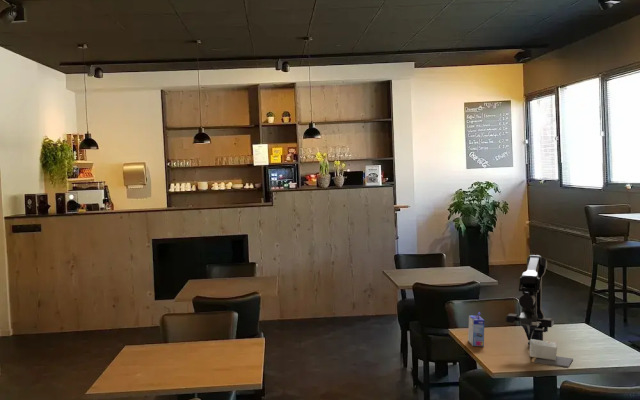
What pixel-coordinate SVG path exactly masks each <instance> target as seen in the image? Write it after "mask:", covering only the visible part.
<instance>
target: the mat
mask: <svg viewBox="0 0 640 400" xmlns="http://www.w3.org/2000/svg"><path fill="white" fill-rule="evenodd" d="M573 361H574V358H572V357H564V356H559V355H556V360H549V359H543V358H537V357H532V359H531V363H536V364H540V365H541V364H543V365H549V366H556V367H562V368H569V367H570V365H571V364H572V362H573Z"/></svg>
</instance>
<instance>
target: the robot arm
mask: <svg viewBox="0 0 640 400" xmlns="http://www.w3.org/2000/svg"><path fill="white" fill-rule="evenodd" d="M526 267H527V268H526V271H523V272H522V274H521V276H520V277H519V284H518V292H522V294H521V296H520V297H519V298H518V299H519V300H518V302H519V305H520V307H521V312H520V315H518V314H517V313H508V314H507V315H506V316H505V322H506V323H512V324H513V323H514V322H519V326H521V328H523V330H524V332H525V336H526V338H527V341H528V342H527V345H530V340H531V339H535V340H541V341H544V333H547V332H548V331H549V329H548V328H552V327H553V326H554V325H555V324H554V323H555V320H554V318H553V317H546V315H545V313H544V311H543V309H542V291H543V290H542V286H543V284H542V283H543V281H542V280H543V276H544V275H545V273H546V269H548V260H547V259H546V258H544V257H542V256H541V255H539V254H536V255H535V254H530V255H529V257H527V258H526Z"/></svg>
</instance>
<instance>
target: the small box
mask: <svg viewBox="0 0 640 400" xmlns="http://www.w3.org/2000/svg"><path fill="white" fill-rule="evenodd" d="M529 341H530V344H529V357H531V358H533V357H537V358H543V359H549V360H556V356H557V353H558V351H557V349H558V346H557V342H553V341H546V340H543V341H541V340H535V339H531V340H529Z"/></svg>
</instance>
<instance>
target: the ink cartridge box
mask: <svg viewBox="0 0 640 400" xmlns="http://www.w3.org/2000/svg"><path fill="white" fill-rule="evenodd" d="M481 314H482V313H481V312H480V311H478V313H477V314H476V315H468V333H467V335H468V336H467V338H468V339H467V341H468V342H469V343H470V345H471V346H472V347H484V346H485V319H483V317H482V316H481Z"/></svg>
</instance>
